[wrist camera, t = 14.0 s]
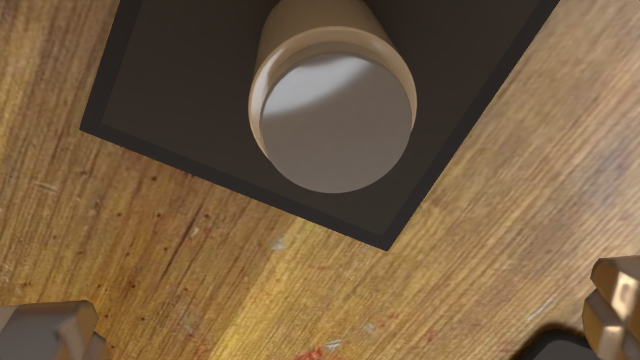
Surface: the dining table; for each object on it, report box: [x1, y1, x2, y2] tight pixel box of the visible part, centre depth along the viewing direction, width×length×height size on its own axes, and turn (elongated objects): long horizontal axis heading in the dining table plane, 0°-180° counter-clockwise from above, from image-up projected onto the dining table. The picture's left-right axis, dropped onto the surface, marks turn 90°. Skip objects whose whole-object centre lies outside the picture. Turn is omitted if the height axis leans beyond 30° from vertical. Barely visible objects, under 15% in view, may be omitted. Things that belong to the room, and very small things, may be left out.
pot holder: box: [79, 0, 560, 251], centre depth 23 cm, size 16×16×1 cm
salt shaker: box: [248, 0, 417, 193], centre depth 19 cm, size 5×5×8 cm
